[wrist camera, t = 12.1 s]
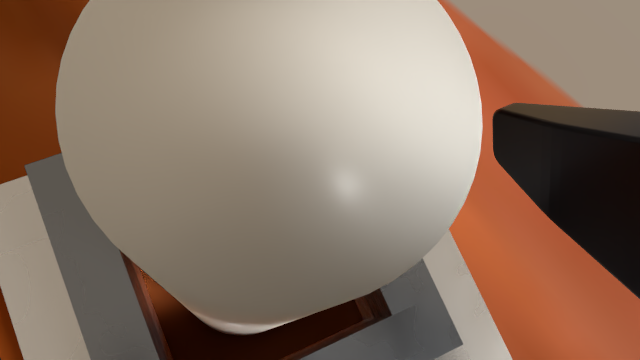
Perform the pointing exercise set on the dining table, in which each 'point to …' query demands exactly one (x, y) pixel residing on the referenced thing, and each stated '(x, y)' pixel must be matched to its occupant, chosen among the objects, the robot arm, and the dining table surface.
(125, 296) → the jig
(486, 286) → the dining table surface
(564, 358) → the dining table surface
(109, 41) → the white tapered cylinder
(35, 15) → the dining table surface
